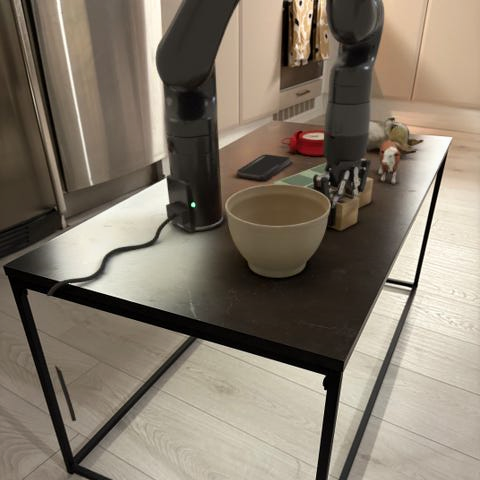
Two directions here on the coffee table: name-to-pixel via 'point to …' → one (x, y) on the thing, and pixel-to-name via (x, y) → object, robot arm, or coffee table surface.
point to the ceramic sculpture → (391, 136)
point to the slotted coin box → (365, 192)
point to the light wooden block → (345, 211)
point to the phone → (263, 167)
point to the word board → (303, 177)
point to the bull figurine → (389, 159)
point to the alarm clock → (307, 142)
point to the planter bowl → (277, 226)
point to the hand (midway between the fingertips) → (338, 220)
